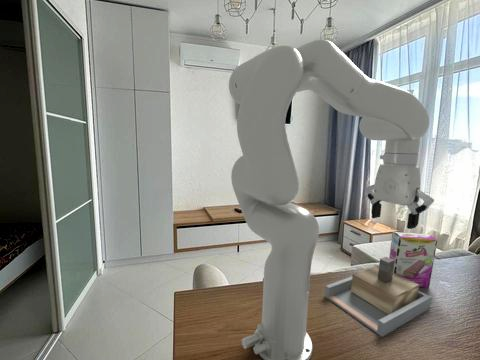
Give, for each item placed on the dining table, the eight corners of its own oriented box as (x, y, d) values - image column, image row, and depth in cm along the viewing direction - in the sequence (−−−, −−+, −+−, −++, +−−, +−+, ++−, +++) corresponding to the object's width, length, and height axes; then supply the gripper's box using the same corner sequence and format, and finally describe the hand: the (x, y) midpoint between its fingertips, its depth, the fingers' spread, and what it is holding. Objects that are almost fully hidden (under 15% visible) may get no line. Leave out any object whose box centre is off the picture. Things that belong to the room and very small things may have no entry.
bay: (381, 336, 58) (383, 323, 58) (325, 296, 73) (326, 285, 72) (429, 308, 69) (431, 296, 68) (371, 278, 83) (373, 268, 83)
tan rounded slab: (391, 316, 64) (397, 274, 62) (350, 291, 74) (354, 255, 73) (416, 302, 70) (422, 264, 68) (375, 281, 80) (379, 247, 78)
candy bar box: (393, 286, 79) (399, 236, 77) (385, 277, 84) (391, 231, 82) (430, 289, 78) (438, 239, 76) (420, 280, 83) (428, 233, 81)
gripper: (361, 158, 72) (355, 215, 74) (430, 163, 57) (420, 235, 60) (377, 157, 75) (371, 212, 78) (446, 162, 60) (435, 230, 63)
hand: (392, 222), depth 69 cm, fingers open, 9 cm apart
